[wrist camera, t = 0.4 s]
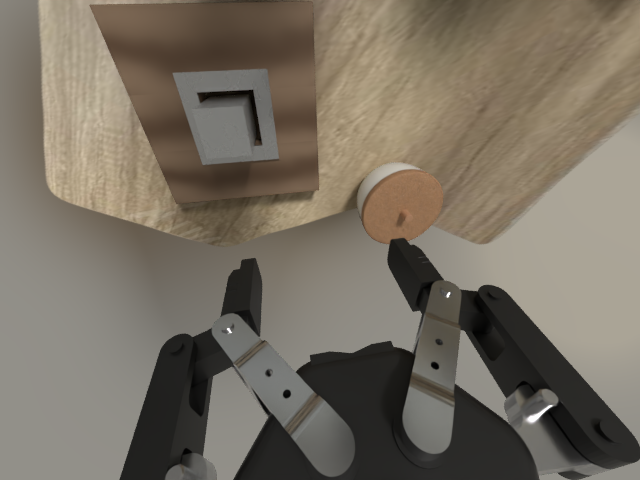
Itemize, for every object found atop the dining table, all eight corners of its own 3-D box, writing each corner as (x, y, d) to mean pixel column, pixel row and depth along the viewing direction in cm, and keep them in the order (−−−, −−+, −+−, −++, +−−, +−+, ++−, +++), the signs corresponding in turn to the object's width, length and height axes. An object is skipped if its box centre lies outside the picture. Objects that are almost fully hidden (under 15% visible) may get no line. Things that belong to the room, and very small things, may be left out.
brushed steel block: (211, 96, 32) (191, 109, 24) (249, 94, 33) (242, 106, 25) (221, 136, 35) (206, 158, 27) (256, 133, 36) (252, 155, 28)
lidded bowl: (410, 138, 40) (448, 161, 31) (420, 200, 47) (453, 233, 39) (338, 170, 41) (356, 201, 33) (359, 226, 49) (378, 263, 40)
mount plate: (105, 9, 26) (86, 4, 24) (309, 5, 28) (313, 0, 26) (182, 195, 40) (175, 205, 37) (316, 182, 42) (319, 191, 39)
